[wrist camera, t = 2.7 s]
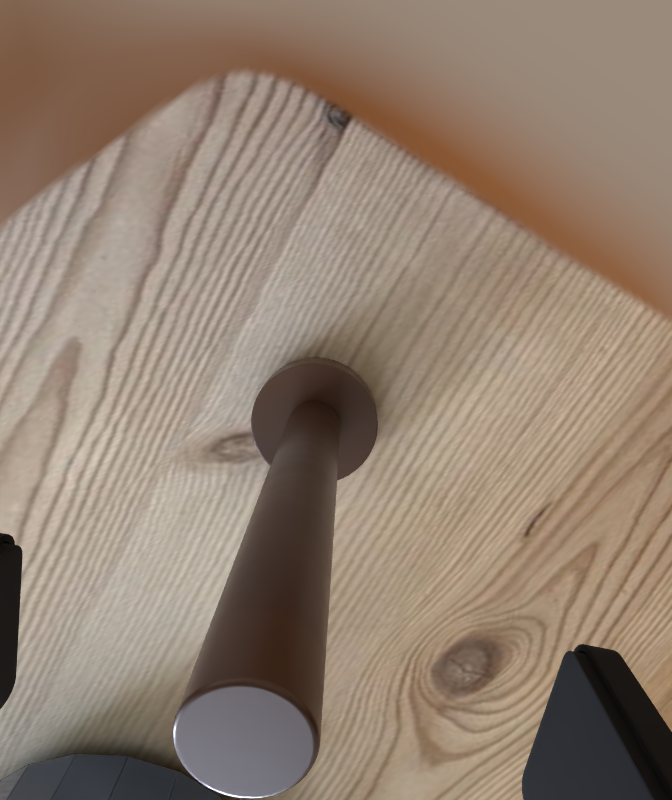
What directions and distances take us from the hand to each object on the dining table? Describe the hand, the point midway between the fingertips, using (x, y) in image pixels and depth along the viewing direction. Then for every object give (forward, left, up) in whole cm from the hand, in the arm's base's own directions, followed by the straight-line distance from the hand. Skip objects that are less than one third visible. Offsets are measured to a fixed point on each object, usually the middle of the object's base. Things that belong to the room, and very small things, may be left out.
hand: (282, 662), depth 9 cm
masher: (0, 0, -13) cm, 13 cm away
